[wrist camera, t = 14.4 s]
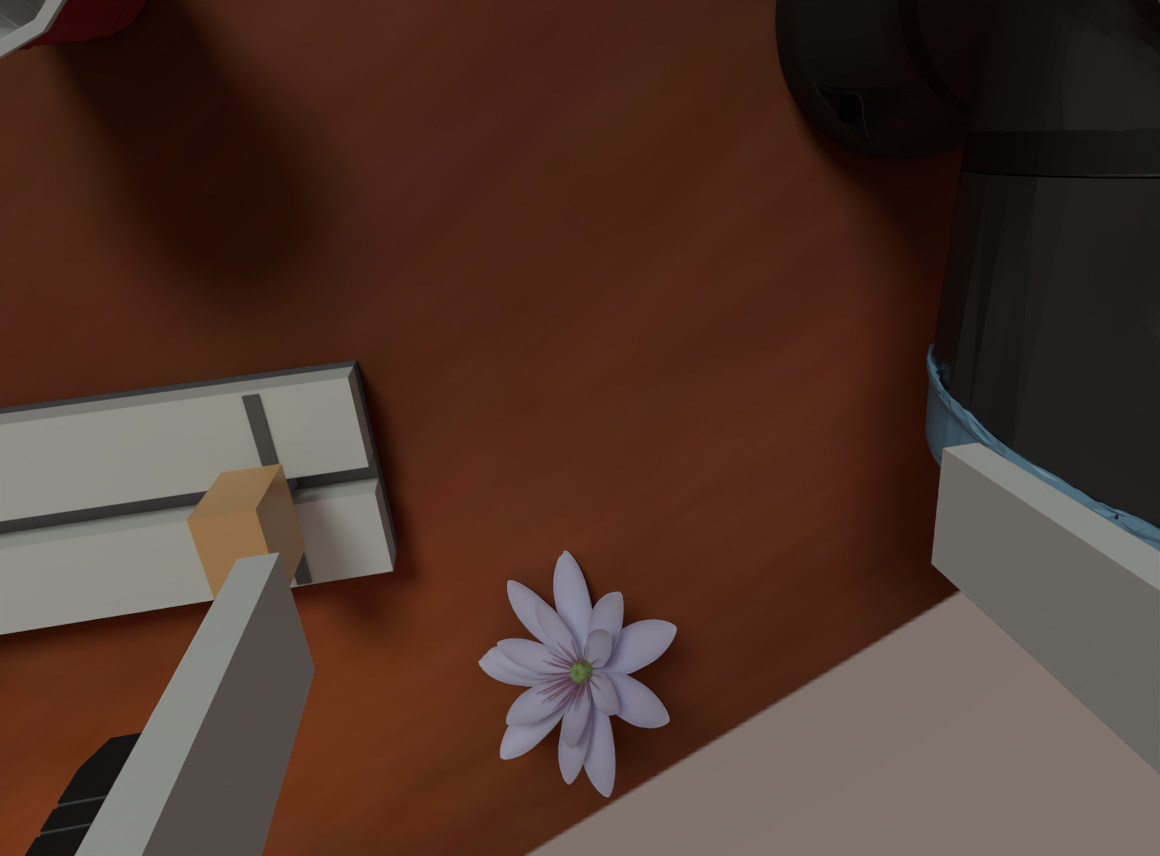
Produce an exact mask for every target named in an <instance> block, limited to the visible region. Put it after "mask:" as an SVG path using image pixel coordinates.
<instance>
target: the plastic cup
mask: <svg viewBox="0 0 1160 856" xmlns="http://www.w3.org/2000/svg"><path fill="white" fill-rule="evenodd" d="M146 1H147V0H0V59H2V58H3V57H5V56H7V55H8V54H10V53H12V52H14V51H16V50H21V49H29V48H31V47H33V46H38V45H49V44H60V43H71V42H81V41H89V40H90V39H92V38H95V37H105V36H111V35H113V34H114V33H116V32H118V31H119V30H121V29H123V28H124V27H126V26H128V25H129V24H131V23H132V22H134V21H135V19H136V17H137V16H138V14H139V12H140V11H141V9H142V8H143V6H144V4H145V3H146Z"/></svg>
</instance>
